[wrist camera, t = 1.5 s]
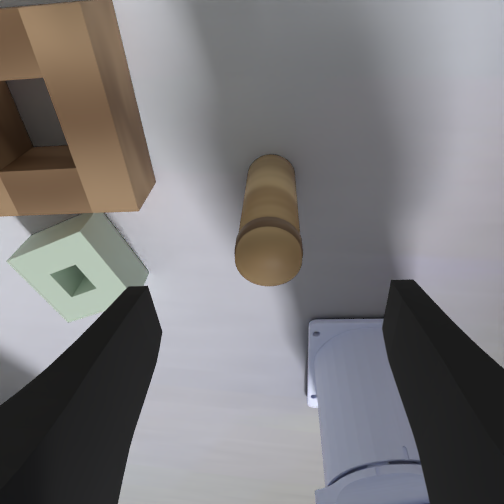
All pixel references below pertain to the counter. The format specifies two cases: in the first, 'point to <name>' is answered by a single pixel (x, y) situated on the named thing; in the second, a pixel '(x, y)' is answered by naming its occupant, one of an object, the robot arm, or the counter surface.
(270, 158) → the wooden peg
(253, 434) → the counter surface
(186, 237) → the counter surface
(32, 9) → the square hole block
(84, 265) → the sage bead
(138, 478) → the counter surface
